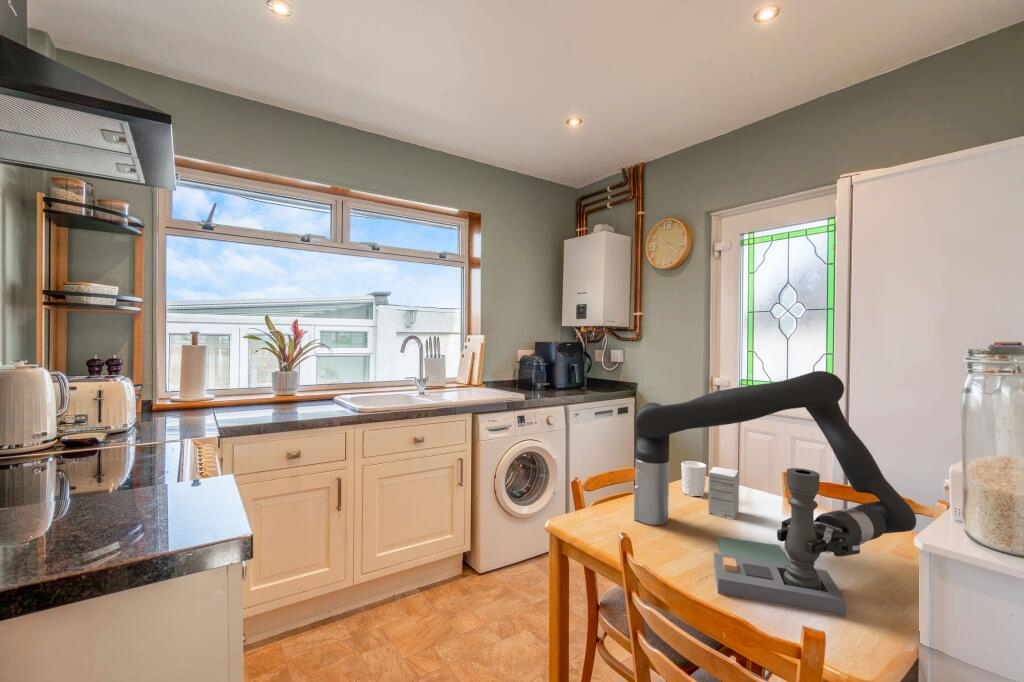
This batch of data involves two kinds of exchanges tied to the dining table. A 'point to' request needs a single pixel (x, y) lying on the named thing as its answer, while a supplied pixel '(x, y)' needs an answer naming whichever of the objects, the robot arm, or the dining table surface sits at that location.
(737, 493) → the supplement box
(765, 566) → the grey compartment tray
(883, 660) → the dining table surface
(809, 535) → the candle holder
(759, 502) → the dining table surface
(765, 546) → the mat
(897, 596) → the dining table surface
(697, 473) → the white cup
